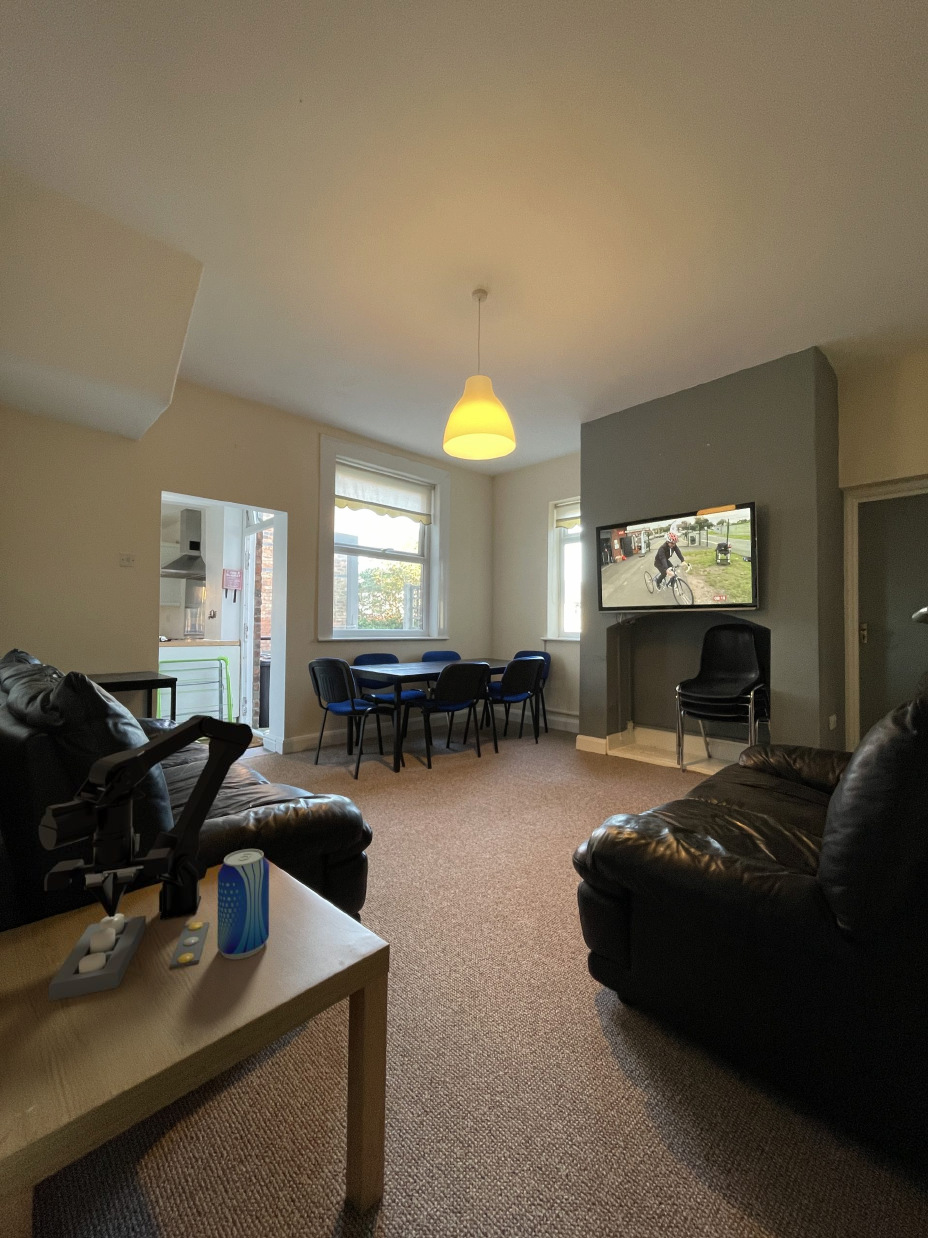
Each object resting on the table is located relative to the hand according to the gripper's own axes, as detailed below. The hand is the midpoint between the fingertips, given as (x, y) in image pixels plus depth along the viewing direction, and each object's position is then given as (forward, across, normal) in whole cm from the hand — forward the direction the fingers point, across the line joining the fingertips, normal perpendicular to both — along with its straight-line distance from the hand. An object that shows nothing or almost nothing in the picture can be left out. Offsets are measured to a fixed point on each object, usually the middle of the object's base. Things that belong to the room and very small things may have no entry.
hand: (112, 915), depth 93 cm
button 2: (+3, 0, 0) cm, 3 cm away
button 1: (+4, 0, +10) cm, 11 cm away
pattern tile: (+5, -14, +5) cm, 15 cm away
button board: (+5, 0, +5) cm, 7 cm away
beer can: (+5, -22, +9) cm, 25 cm away
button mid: (+3, 0, +5) cm, 6 cm away
